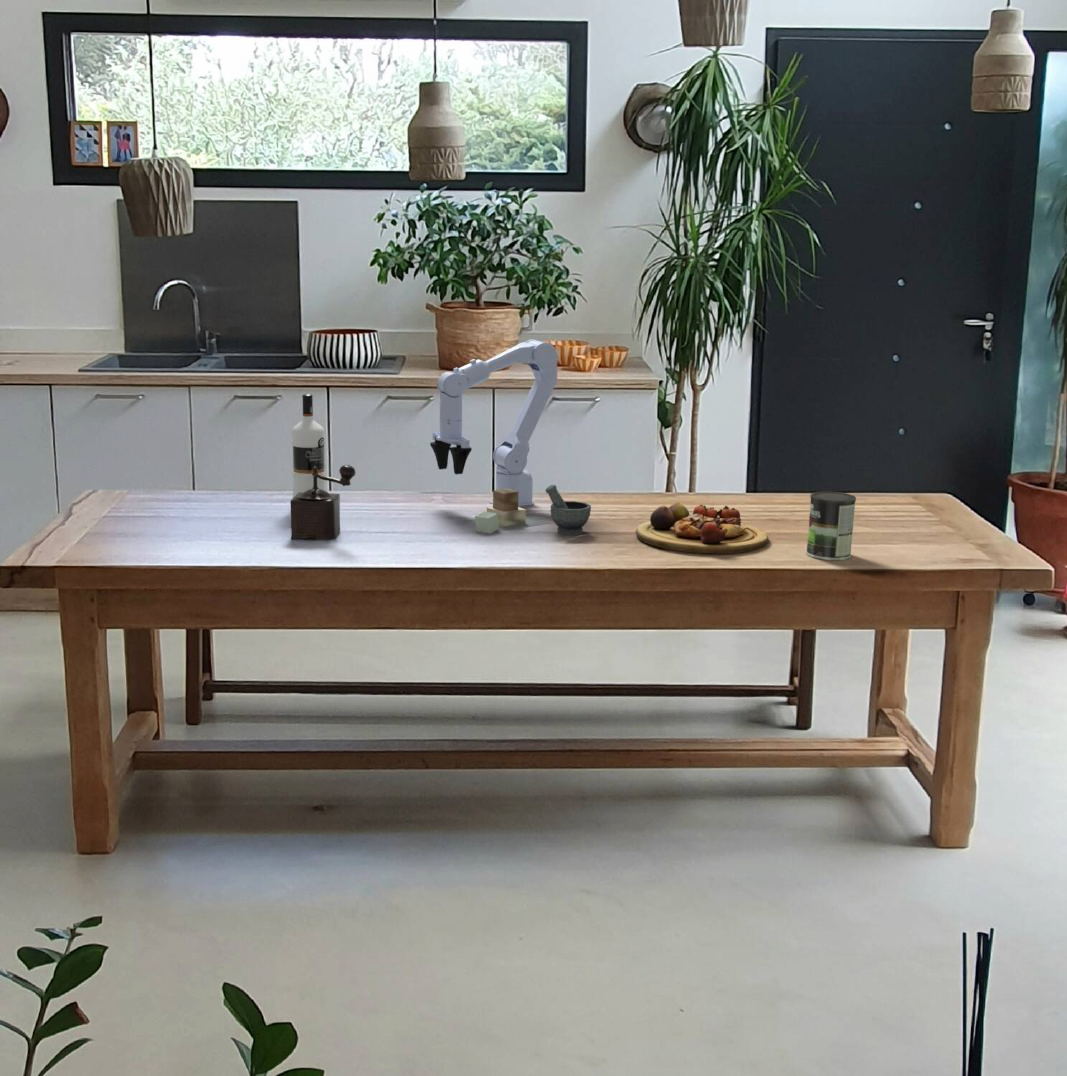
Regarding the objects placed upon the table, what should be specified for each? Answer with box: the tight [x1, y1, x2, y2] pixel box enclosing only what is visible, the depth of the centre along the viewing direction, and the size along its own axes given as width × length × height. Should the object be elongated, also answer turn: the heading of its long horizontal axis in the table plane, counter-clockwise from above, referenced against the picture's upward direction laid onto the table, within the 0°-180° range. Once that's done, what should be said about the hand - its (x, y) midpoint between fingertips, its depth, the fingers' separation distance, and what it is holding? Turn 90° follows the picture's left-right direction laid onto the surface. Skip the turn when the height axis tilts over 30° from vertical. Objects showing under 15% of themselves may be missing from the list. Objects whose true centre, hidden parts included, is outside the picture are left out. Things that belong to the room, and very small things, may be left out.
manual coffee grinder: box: [290, 464, 357, 541], centre depth 319 cm, size 16×11×18 cm
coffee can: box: [805, 491, 857, 562], centre depth 311 cm, size 10×10×14 cm
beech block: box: [486, 506, 527, 527], centre depth 337 cm, size 7×7×4 cm
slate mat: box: [461, 514, 552, 533], centre depth 337 cm, size 18×14×1 cm
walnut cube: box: [492, 488, 519, 511], centre depth 335 cm, size 4×4×4 cm
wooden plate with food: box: [635, 501, 769, 554], centre depth 325 cm, size 32×32×8 cm
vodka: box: [291, 393, 327, 500], centre depth 343 cm, size 9×9×30 cm
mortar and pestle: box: [545, 484, 592, 536], centre depth 327 cm, size 11×9×12 cm
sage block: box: [474, 511, 499, 534], centre depth 327 cm, size 4×4×4 cm
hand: (450, 471), depth 349 cm, fingers open, 7 cm apart
